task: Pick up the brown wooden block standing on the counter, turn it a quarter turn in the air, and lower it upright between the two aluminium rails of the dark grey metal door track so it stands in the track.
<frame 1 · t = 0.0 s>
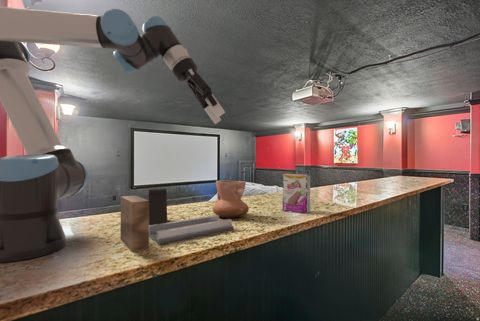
hand: (219, 118, 81), 36 cm above the table, tool tilted 35°, fingers open, 13 cm apart
door track: (191, 232, 76), on the table
candy bar box: (296, 212, 108), on the table
brown wooden block: (133, 243, 66), on the table
door stopper: (157, 222, 89), on the table
ceramic jug: (229, 216, 100), on the table
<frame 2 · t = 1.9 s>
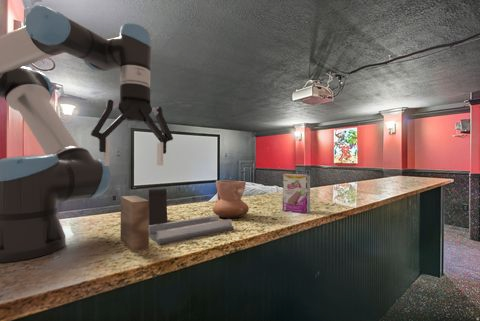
hand: (135, 165, 66), 21 cm above the table, tool pointing down, fingers open, 13 cm apart
nothing on the table moved.
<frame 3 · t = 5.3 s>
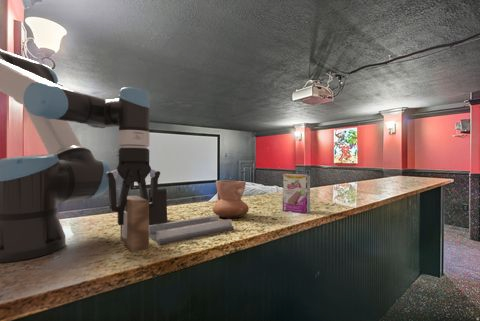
hand: (133, 235, 66), 2 cm above the table, tool pointing down, fingers closed on brown wooden block, 4 cm apart
brown wooden block: (133, 243, 66), on the table, touching gripper
everything else where it was.
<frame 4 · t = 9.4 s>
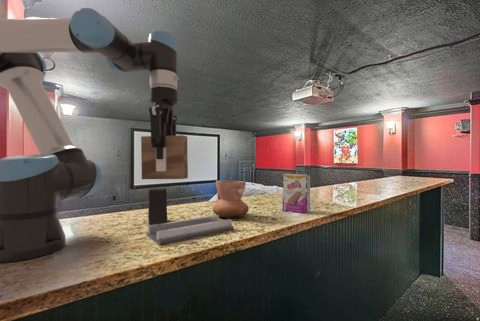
hand: (165, 170, 70), 19 cm above the table, tool pointing down, fingers closed on brown wooden block, 4 cm apart
brown wooden block: (165, 178, 70), point 17 cm above the table, touching gripper
everything else where it was.
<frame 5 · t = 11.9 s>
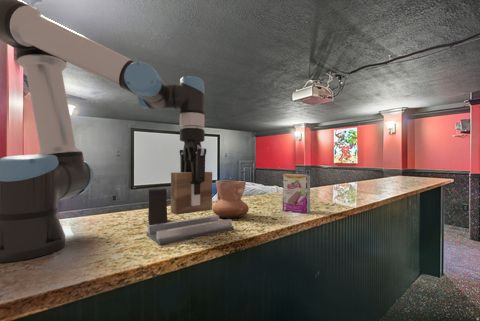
hand: (191, 204, 76), 9 cm above the table, tool pointing down, fingers closed on brown wooden block, 4 cm apart
brown wooden block: (192, 211, 76), point 7 cm above the table, touching gripper
everything else where it was.
when the fingers open (5 cm above the table, at t = 13.8 s): brown wooden block drops 1 cm, resting on door track.
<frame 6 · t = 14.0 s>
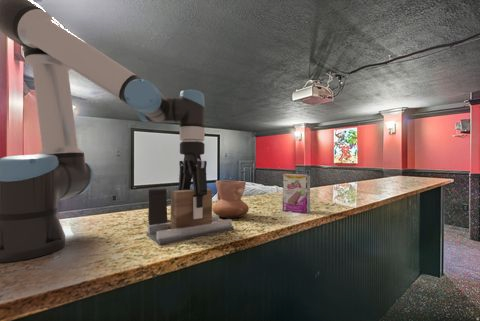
hand: (191, 215, 76), 5 cm above the table, tool pointing down, fingers open, 7 cm apart
brown wooden block: (191, 229, 76), point 1 cm above the table, touching door track
everything else where it was.
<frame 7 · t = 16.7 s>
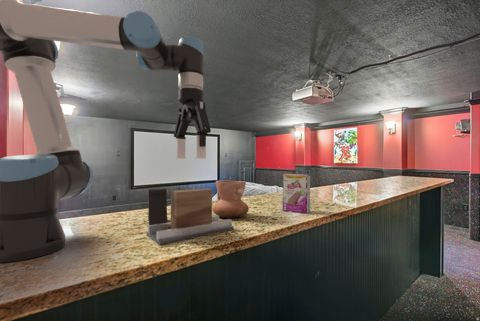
hand: (190, 158, 76), 23 cm above the table, tool pointing down, fingers open, 13 cm apart
nothing on the table moved.
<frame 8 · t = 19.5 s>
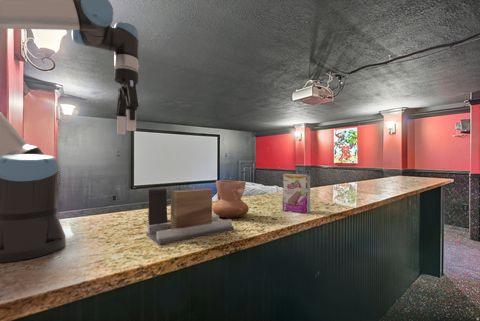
hand: (126, 132, 85), 32 cm above the table, tool pointing down, fingers open, 13 cm apart
nothing on the table moved.
at the end: brown wooden block inside the target area on the door track (0.0 cm from its centre), point 1.0 cm above the door track's base; brown wooden block tilted 0°; the gripper is holding nothing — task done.
